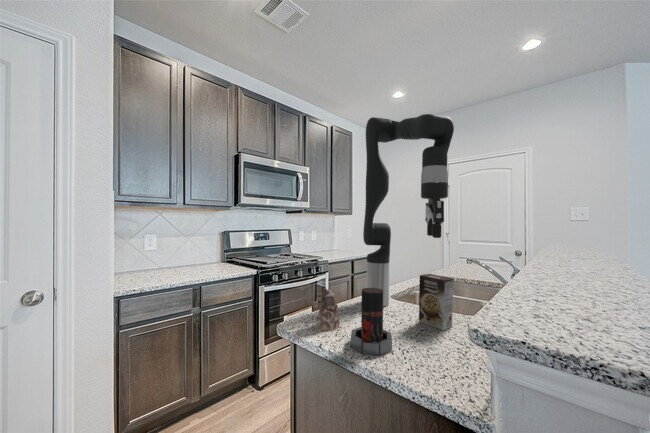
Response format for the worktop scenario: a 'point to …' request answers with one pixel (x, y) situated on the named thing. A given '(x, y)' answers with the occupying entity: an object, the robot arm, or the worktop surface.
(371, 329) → the deodorant
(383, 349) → the collar ring
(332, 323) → the figurine
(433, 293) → the coffee box
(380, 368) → the worktop surface
